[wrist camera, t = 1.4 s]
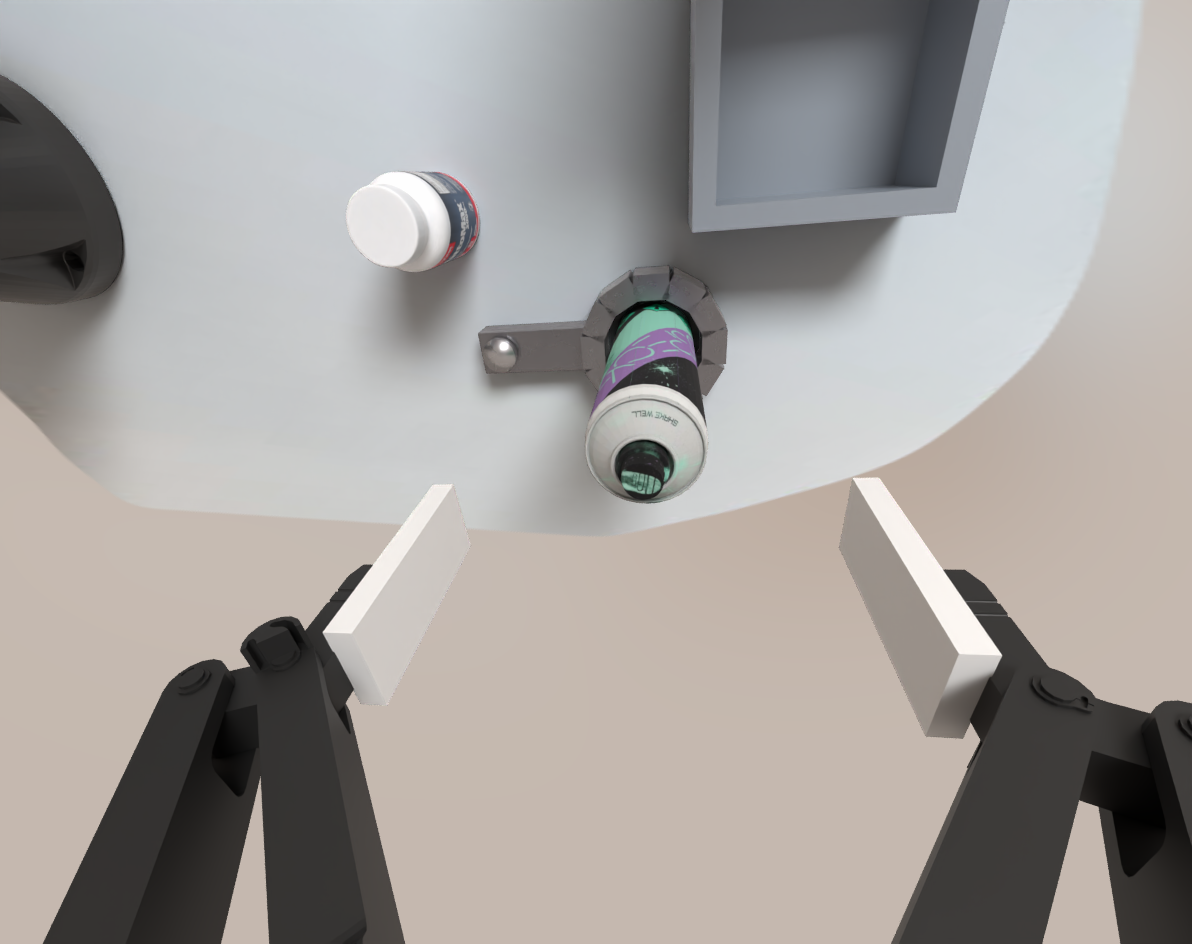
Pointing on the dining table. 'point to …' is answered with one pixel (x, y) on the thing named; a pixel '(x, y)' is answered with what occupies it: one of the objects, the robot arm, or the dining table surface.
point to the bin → (833, 107)
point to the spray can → (649, 409)
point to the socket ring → (590, 339)
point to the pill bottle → (413, 220)
